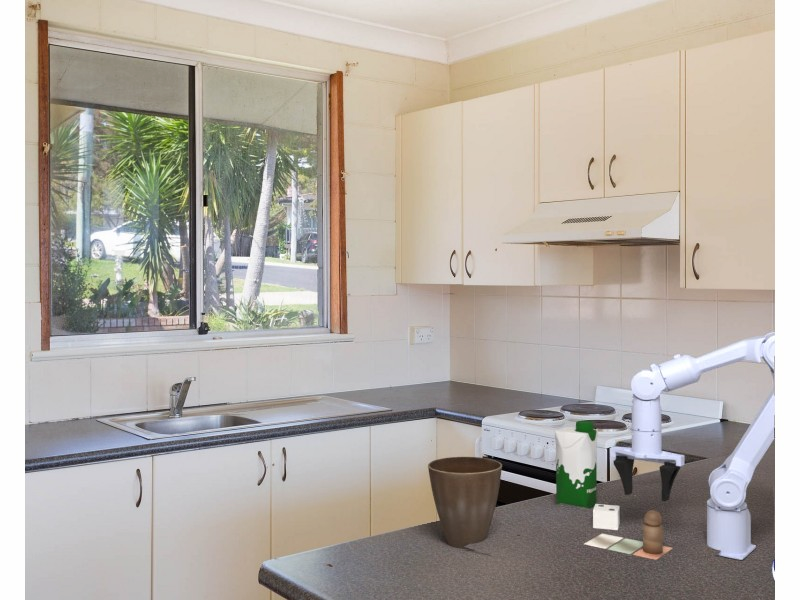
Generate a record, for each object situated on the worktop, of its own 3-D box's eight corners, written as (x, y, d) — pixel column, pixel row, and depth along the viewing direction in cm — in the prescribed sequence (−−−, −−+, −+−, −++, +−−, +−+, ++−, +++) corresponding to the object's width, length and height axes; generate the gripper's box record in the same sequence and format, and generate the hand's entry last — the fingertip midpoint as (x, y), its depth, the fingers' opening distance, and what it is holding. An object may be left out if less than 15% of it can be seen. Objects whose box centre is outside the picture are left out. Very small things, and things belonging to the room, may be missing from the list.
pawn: (647, 546, 153) (647, 506, 153) (665, 550, 151) (665, 510, 151) (639, 551, 150) (640, 510, 150) (658, 555, 148) (658, 514, 148)
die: (595, 526, 170) (595, 503, 170) (619, 529, 169) (619, 505, 169) (593, 533, 166) (593, 509, 166) (617, 535, 164) (617, 511, 164)
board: (602, 537, 162) (602, 532, 162) (675, 552, 153) (675, 547, 153) (580, 550, 155) (580, 544, 155) (655, 567, 145) (655, 560, 145)
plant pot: (472, 560, 149) (471, 476, 149) (413, 544, 160) (412, 465, 159) (517, 541, 160) (516, 463, 160) (459, 527, 170) (459, 453, 170)
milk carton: (587, 512, 181) (587, 425, 181) (550, 506, 186) (550, 422, 186) (601, 504, 188) (601, 420, 188) (566, 498, 193) (565, 417, 193)
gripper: (604, 428, 160) (604, 495, 160) (675, 436, 151) (675, 507, 151) (618, 423, 165) (618, 488, 165) (688, 431, 156) (688, 499, 156)
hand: (646, 497), depth 159 cm, fingers open, 7 cm apart
